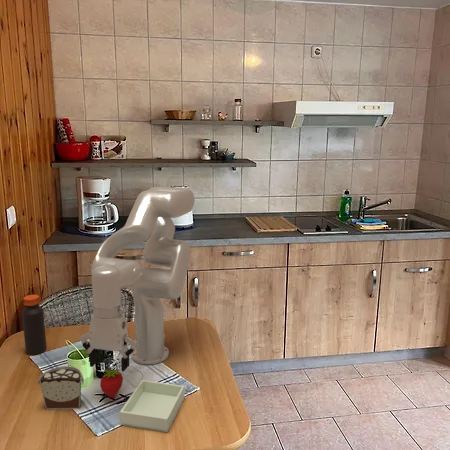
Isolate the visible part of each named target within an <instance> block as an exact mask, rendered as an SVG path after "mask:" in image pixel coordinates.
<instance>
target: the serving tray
mask: <svg viewBox="0 0 450 450" xmlns="http://www.w3.org/2000/svg"><path fill="white" fill-rule="evenodd" d="M185 388H186V387H185V385H180V384H174V383H173V384H172V383H165V382H160V381H153V380H144V379H141V381H140V382H139V384H138V385H137V386H136V388H135V390H134V391H133V392H132V394H131V395H130V397H129V398H128V399H127V401H126V402H125V404H124V405H123V406H122V408H121V410H119V425H120V426H122V427H123V426H125V427H131V428H137V429H142V430H149V431H154V432H161V433H168V432H169V431H170V429H171V426H172V424H173V422H174V420H175V418H176V416H177V415H178V413H179V411H180V408H181V406H182V404H183V402H184V400H185V395H186V394H185V393H186V392H185V391H186V390H185Z"/></svg>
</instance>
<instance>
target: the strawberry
mask: <svg viewBox="0 0 450 450" xmlns="http://www.w3.org/2000/svg"><path fill="white" fill-rule="evenodd" d="M108 367H110V369H109V370H108V369H104V371H105V374H104V375H103V376H102V377H101V379H100V381H99V382H100V383H99V387H100V389H101V391H102V392H103V393H104V394H105V395H106V396H107V397H109V398H111V399H115V398H116V396H117V395H118V394H119V391H120V390H121V388H122V385H123V382H124V378H123V377H124V376H123V374H122V373H121V372H119V371H118V370H119V368H117V369H113V368H112V366H110V365H108Z"/></svg>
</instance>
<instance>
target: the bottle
mask: <svg viewBox="0 0 450 450" xmlns="http://www.w3.org/2000/svg"><path fill="white" fill-rule="evenodd" d="M23 306H24V307H25V308H24V309H23V310H22V311H21V316H22V317H21V318H22V329H23V337H24V338H23V340H24V346H25V349H24V350H25V353H26V354H27V355H31V356H37V355H39V354H42V353H44V352H46V350H47V349H48V348H47V347H48V346H47V339H46V325H45V315H44V308H43V307H41V306H40V296H39V295H38V294H29V295H26V296H23Z"/></svg>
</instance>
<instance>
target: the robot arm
mask: <svg viewBox="0 0 450 450" xmlns="http://www.w3.org/2000/svg"><path fill="white" fill-rule="evenodd" d="M194 206H195V195H194V193H193V190H191V189H189V188H186V187H173V186H172V187H171V186H170V187H169V186H153V187H150V188H148V189H147V190H143V191H141V192H140V193H138V195H137V197H136V199H135V201H134V204H133V207H132V208H131V211H130V213H129V216H128V218H127V220H126V221H125V222H126V223H125V224H124V226H123V227H121V228H120V229H119V230H117V231H115V232H114V233H112V234H111V235H110V236H109V237H107V238H106V239H105V240H104V241H103V242H102V243H101V244H100V246H99V249H98V250H97V252H96V254H95V257H94V259H93V261H92V264H91V272H90V273H91V283H92V285H91V286H92V289H91V290H92V307H93V308H92V309H93V311H92V312H93V313H92V314H91V316H90V321H89V330H88V332H85V333H83V334H82V335H80V336H79V341H80V343H81V344H82V347H83V348H84V349H85V350H86V353H87V354H88V362H89V367H91V368H93V367H94V366H95V365H96V364H97V363H98V350H101V351H102V350H103V351H108V352H109V351H110V352H111V351H112V352H118V353H119V354H120V355H121V356H122V357H121V359H120V363H121V366H120V368H121V371H122V372H126V371H127V368H129V367H130V355H131V359H132V360H133V361H134V362H136V363H137V364H140V365H147V366H148V365H157V364H159V363H162V362H164V361H165V360H167V359H168V357H169V355H170V351H169V348H168V347H167V346H165V338H166V334H165V329H164V327H165V324H164V323H165V322H164V320H165V319H164V306H163V305H164V304H163V302H162V300H161V299H164V300H171V301H172V300H173V301H174V300H177V299H179V298H180V297H181V295H182V293H183V289H184V286H185V282H186V278H187V275H188V270H189V265H190V261H191V248H190V245H189V243H188V242H187V241H184V240H183V239H182V240H181V239H174V236H175V232H176V225H175V223H174V220H173V219H177V218H180V217H182V216H185V215H186V214H189V213H190V212H191V211H192V210H193V208H194ZM144 242H145V246H144V249H143V253H142V257H143V260H144V262H145V263H146V264H147V265H151V266H157V267H159V268H157V267H149V266H145V267H144V266H143V267H141V264H140V263H138V262H137V261H135V260H133V259H132V260H131V259H123V258H117V257H115V256H116V255H117V254H118V253H119V252H121V251H122V250H124V249H126V248H129V247H132V246H136V245H139V244H141V243H144ZM160 267H163V268H160ZM164 267H166V268H170V269H164ZM128 287H131V288H130V289H131V293H132V298H133V303H134V323H135V326H134V327H135V339H133V338H132V337H130V336H129V332H128V325H127V319H126V315H125V313H126V310H127V309H126V307H123V304H122V292H121V291H122V290H123V289H124V288H128ZM127 345H130V347H128V346H127Z"/></svg>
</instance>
